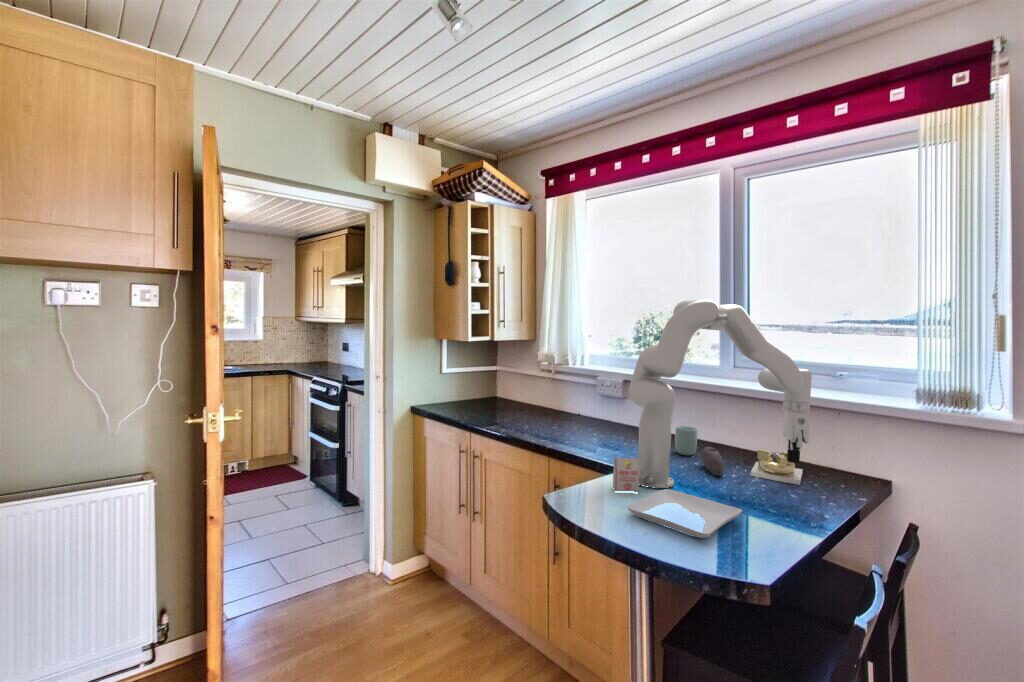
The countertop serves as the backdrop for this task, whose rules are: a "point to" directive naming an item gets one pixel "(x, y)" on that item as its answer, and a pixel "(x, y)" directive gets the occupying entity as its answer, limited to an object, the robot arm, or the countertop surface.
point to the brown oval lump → (712, 460)
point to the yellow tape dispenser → (775, 462)
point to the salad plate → (705, 508)
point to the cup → (686, 440)
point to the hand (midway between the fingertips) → (793, 461)
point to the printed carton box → (626, 474)
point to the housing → (777, 474)
